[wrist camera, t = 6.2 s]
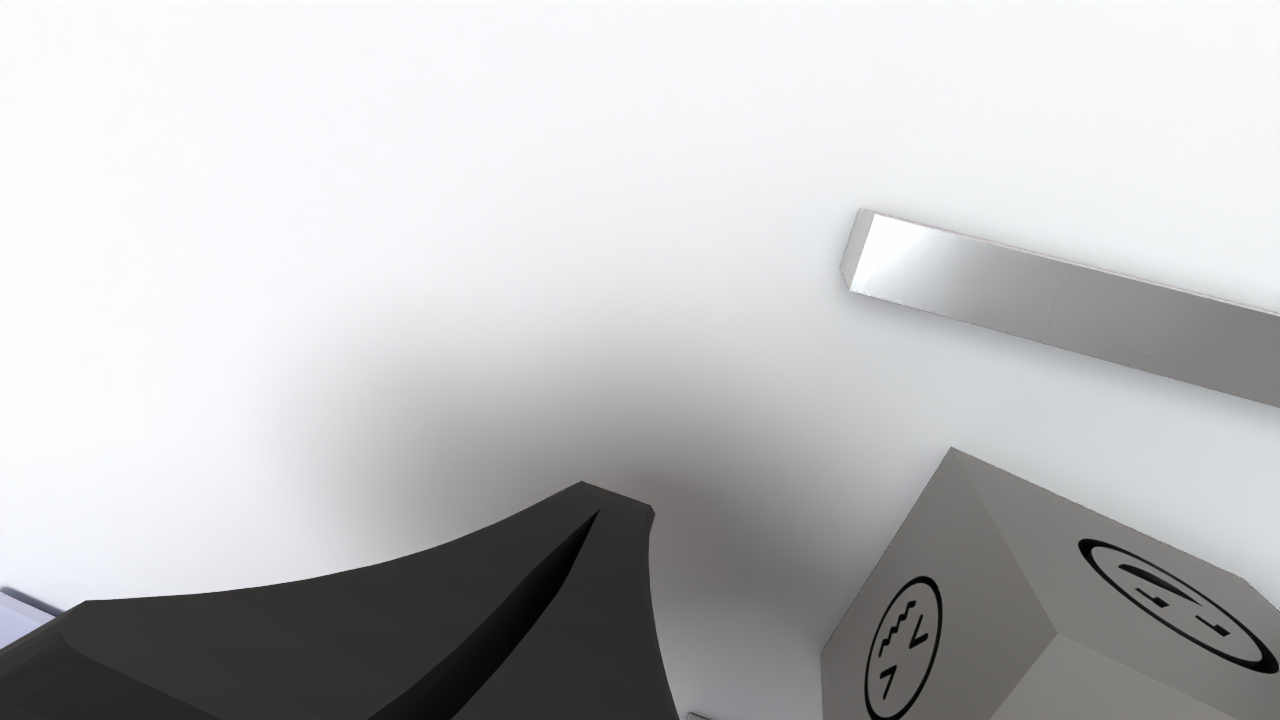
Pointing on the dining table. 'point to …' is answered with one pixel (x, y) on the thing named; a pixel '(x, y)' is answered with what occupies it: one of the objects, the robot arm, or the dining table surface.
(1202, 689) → the dice cube
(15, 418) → the dining table surface
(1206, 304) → the bar
